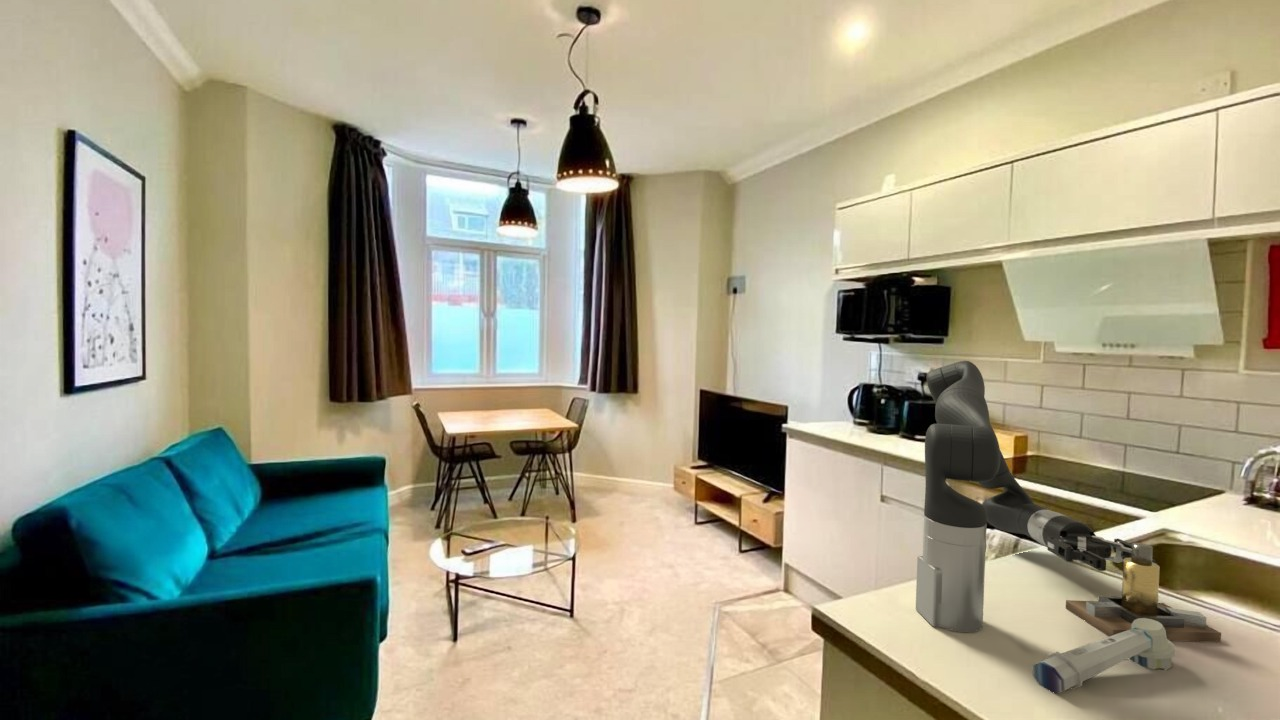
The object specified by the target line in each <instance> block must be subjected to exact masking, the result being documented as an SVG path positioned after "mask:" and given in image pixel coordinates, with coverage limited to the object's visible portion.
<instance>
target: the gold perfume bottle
mask: <svg viewBox="0 0 1280 720" xmlns="http://www.w3.org/2000/svg"><path fill="white" fill-rule="evenodd" d="M1131 544H1132V552H1131V558H1127V557H1125V558H1124V562H1123V561H1122V562H1123V563H1122V565H1123V566H1122V568H1123V569H1122V585H1121V586H1122V587H1121V596H1122V602H1121V606H1122V607H1124V608H1125V609H1127V610H1129V611H1131V612H1132V613H1134V614H1136V615H1146V616H1157V609H1158V603H1159V587H1160V585H1159V584H1160V572H1161V571H1160V569H1161V568H1160V567H1161V566H1160V565H1159V564H1158V563H1157V564H1155V563H1153V562H1152V559H1153V549H1154V547H1153V546H1152V545H1149V544H1147V543H1142V542H1141V543H1140V542H1132V543H1131Z"/></svg>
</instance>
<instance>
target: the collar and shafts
mask: <svg viewBox="0 0 1280 720" xmlns="http://www.w3.org/2000/svg"><path fill="white" fill-rule="evenodd" d="M1085 601H1086V612H1087V613H1089V614H1090V615H1092V616H1094V617H1116V618H1122V619H1124V620H1126V621H1128V622H1129V623H1131V624H1132V623H1133V621H1134V620H1136V619H1138V618H1147V619H1153V620H1155V621H1158V622H1159V623H1161V624H1162V625H1163V627H1166V628H1184V625H1189V626H1195V627H1201V628H1206V625H1207V616H1206V615H1204V614H1203V613H1202V612H1199V611H1194V610H1188V609H1180V608H1174V607H1172V608H1168V607H1166V609H1164V608H1163V607H1161V606H1159V605H1158V609H1157V616H1146V615H1136V614H1134V613H1132V612H1131V611H1129V610H1127V609H1125V608H1124V607H1122V606H1121V602H1122V595H1121V596H1120V595H1119V596H1115V595H1114V596H1113V595H1111V596H1110V595H1098V599H1097V601H1098V602H1094V601H1095V600H1085Z"/></svg>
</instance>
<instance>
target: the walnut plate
mask: <svg viewBox="0 0 1280 720" xmlns="http://www.w3.org/2000/svg"><path fill="white" fill-rule="evenodd" d="M1086 601H1087V600H1068V599H1066V600H1065V609H1066V610H1067V611H1069V612H1071V613H1072V614H1073V615H1074V616H1077V617H1078V618H1079V619H1081V620H1083V621H1084V620H1085V621H1084V622H1086V623H1087V624H1089V625H1090V626H1092V627H1094V628H1096V629H1097V630H1098V631H1099V632H1102V633H1103V634H1104V635H1106V636H1108V637H1110V636H1113V635H1115V634H1118V633H1121V632H1124V631H1127V630H1130V629H1131V626H1132V624H1131V623H1129V622H1128V621H1126V620H1124V619H1122V618H1116V617H1094V616H1092V615H1090V614H1089V613H1087V612H1086ZM1093 601H1094V602H1098V600H1093ZM1158 605H1159V606H1161V607H1163V608H1164V609H1166V607H1168V608H1173V607H1172V606H1170V605H1168V604H1166V603H1164V602H1158ZM1164 628H1165V630H1166V636H1167V639H1168V640H1169V641H1170V642H1173V641H1175V642H1176V641H1177V642H1179V641H1180V642H1205V643H1207V642H1209V643H1211V642H1212V643H1214V642H1215V643H1222V632H1221V631H1218V630H1217V629H1215V628H1213V627H1211V626H1209V625H1207V624H1206V628H1201V627H1195V626H1189V625H1184V628H1166V627H1164Z"/></svg>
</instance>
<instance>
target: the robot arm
mask: <svg viewBox="0 0 1280 720" xmlns="http://www.w3.org/2000/svg"><path fill="white" fill-rule="evenodd" d="M925 377H926V383H927V388H928V390H929V392H930V395H931V397H932V399H933V401H934V402H935V405H934V406H935V408H934V409H935V410H934V411H935V412H934V417H935V421H936V423H933V424H930V425H929V427H928V428H927V430H926V432H925V437H924V469H925V470H924V472H925V488H924V489H925V491H924V492H925V494H924V506H923V507H924V508H923V509H924V510H923V534H922V535H923V536H922V555H919V556H917V560H916V561H917V562H916V586H915V587H916V588H915V610H916V611H917V613H919V614H920V615H921V616H922V617H923V618H924V619H925V620H926V621H927V622H928V623H929V624H930V625H931V626H932V627H934V628H935V627H937V628H938V627H940V628H943V629H946V630H950V631H954V632H960V633H961V632H962V633H972V632H973V633H974V632H978V631H980V630H982V628H983V621H984V599H985V597H984V596H985V595H984V594H985V575H986V574H985V573H986V571H985V570H986V549H987V547H986V545H987V526H988V525H987V523H988V524H989V525H991V526H992V527H994V528H995V529H998V530H1000V531H1004V532H1008V533H1014V534H1017V535H1018V534H1020V535H1025V536H1027V537H1028V538H1031V539H1032V540H1034V541H1036V542H1037V543H1039V544H1041V545H1042V546H1043V547H1045V548H1046V549H1047V551H1048V552H1050V553H1052V554H1054V555H1055V556H1057V557H1058V558H1061V559H1062V560H1064V561H1066V562H1069V563H1071V562H1072V563H1073V561H1076V562H1077V563H1080V564H1086V565H1087V566H1090V567H1091V568H1094V569H1095V570H1098V571H1099V572H1100V571H1101V572H1106V569H1107V561H1109V562H1113V563H1117V564H1120V563H1122V562H1124V558H1131V552H1132V543H1131V542H1127V541H1125V540H1123V539H1120V538H1114V541H1113V540H1109V539H1105V538H1103V537H1101V536H1097V535H1096V533H1094V530H1093V529H1092V528H1091V527H1090V526H1088V524H1086V523H1084V522H1082V521H1079V520H1076V519H1074V518H1072V517H1069V516H1067V515H1065V514H1062V513H1060V512H1057V511H1053V510H1050V509H1047V508H1045V507H1043V506H1041V505H1039V504H1035V503H1034V501H1033V500H1032V498H1031V497H1030V496H1029V494H1028V493H1027V492H1026V491H1025V489H1023V488H1022V486H1021V485H1020V484H1019V482H1018V481H1017V480H1016V478H1015V477H1014V476H1013V474H1012V472H1011V471H1010V468H1009V466H1008V464H1007V462H1006V460H1005V458H1004V455H1003V453H1002V451H1001V448H1000V444H999V440H998V436H997V434H996V433H995V431H994V428H993V426H992V424H991V421H990V413H989V412H990V411H989V407H988V404H987V401H986V398H985V395H986V394H985V389H986V388H985V387H986V386H985V381H984V378H983V375H982V372H981V370H980V369H979V368H978V366H977V365H976V364H975V363H973V362H972V361H969V360H961V361H956V362H954V363H950V364H947V365H945V366H942V367H937V368H935V369H931V370H929V371H927V373H926V376H925ZM947 479H949V480H954V481H964V482H971V483H978V485H980V487H982V488H983V489H988V490H992V489H999V488H1000V489H1001V488H1002V489H1003V492H1000V493H998V494H996V495H993V496H991V497H989V498H986V499H985V500H984V501H982V503H980V502H979V501H977V500H975V499H972V498H971V497H968V496H966V495H963V494H961V492H958V491H957V490H955V489H954V488H952V487H951V486H950V485H949V484H948V483H947V481H946V480H947ZM1112 550H1113V553H1115V557H1114V556H1112ZM1152 562H1153V563H1155V564H1157V565H1158V563H1157V561H1156V560H1155V559H1154V558H1152Z"/></svg>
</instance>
